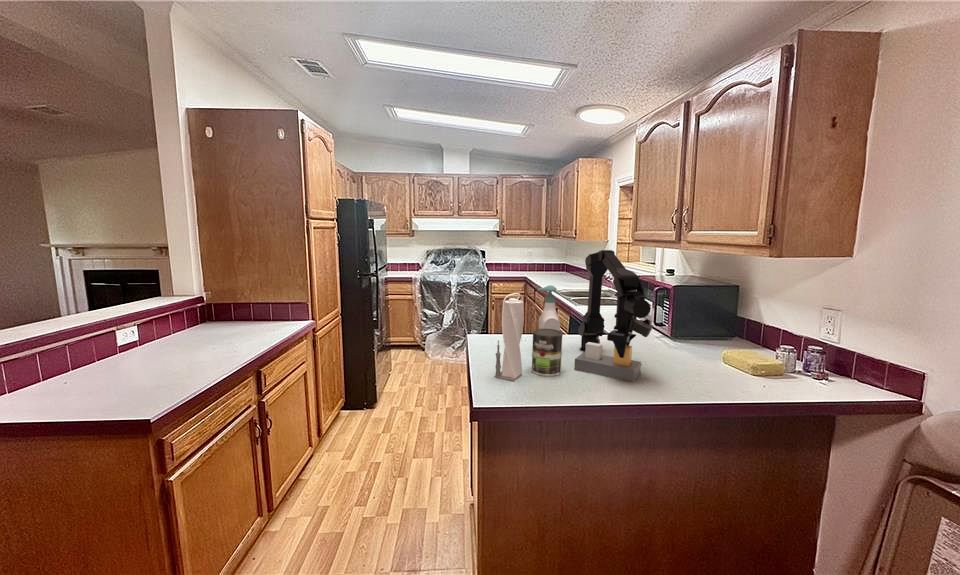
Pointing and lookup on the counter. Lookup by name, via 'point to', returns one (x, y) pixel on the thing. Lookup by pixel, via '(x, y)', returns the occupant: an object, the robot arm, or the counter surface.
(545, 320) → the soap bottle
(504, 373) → the skyscraper
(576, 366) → the block
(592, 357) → the white rectangular block
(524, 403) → the counter surface
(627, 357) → the amber plug
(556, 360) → the coffee can
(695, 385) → the counter surface
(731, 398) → the counter surface
